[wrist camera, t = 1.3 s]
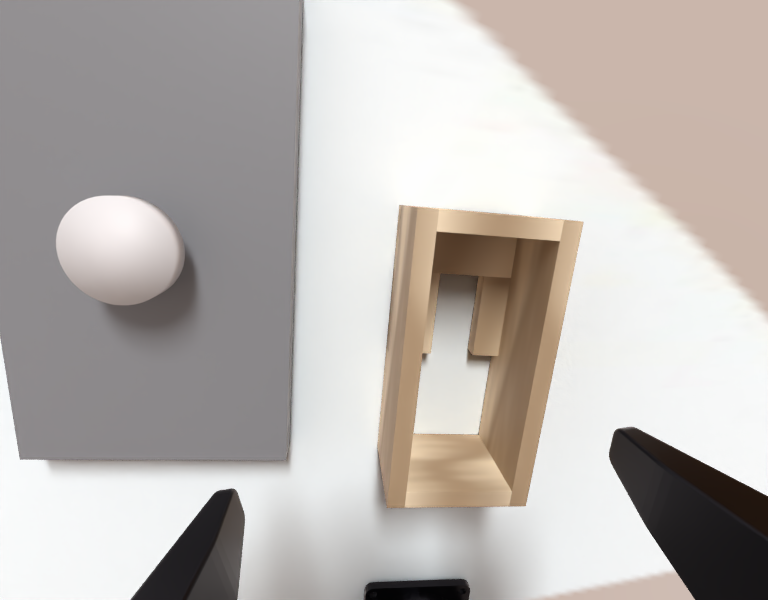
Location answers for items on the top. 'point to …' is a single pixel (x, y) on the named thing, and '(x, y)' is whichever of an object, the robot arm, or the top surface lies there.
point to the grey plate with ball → (149, 226)
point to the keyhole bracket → (474, 351)
